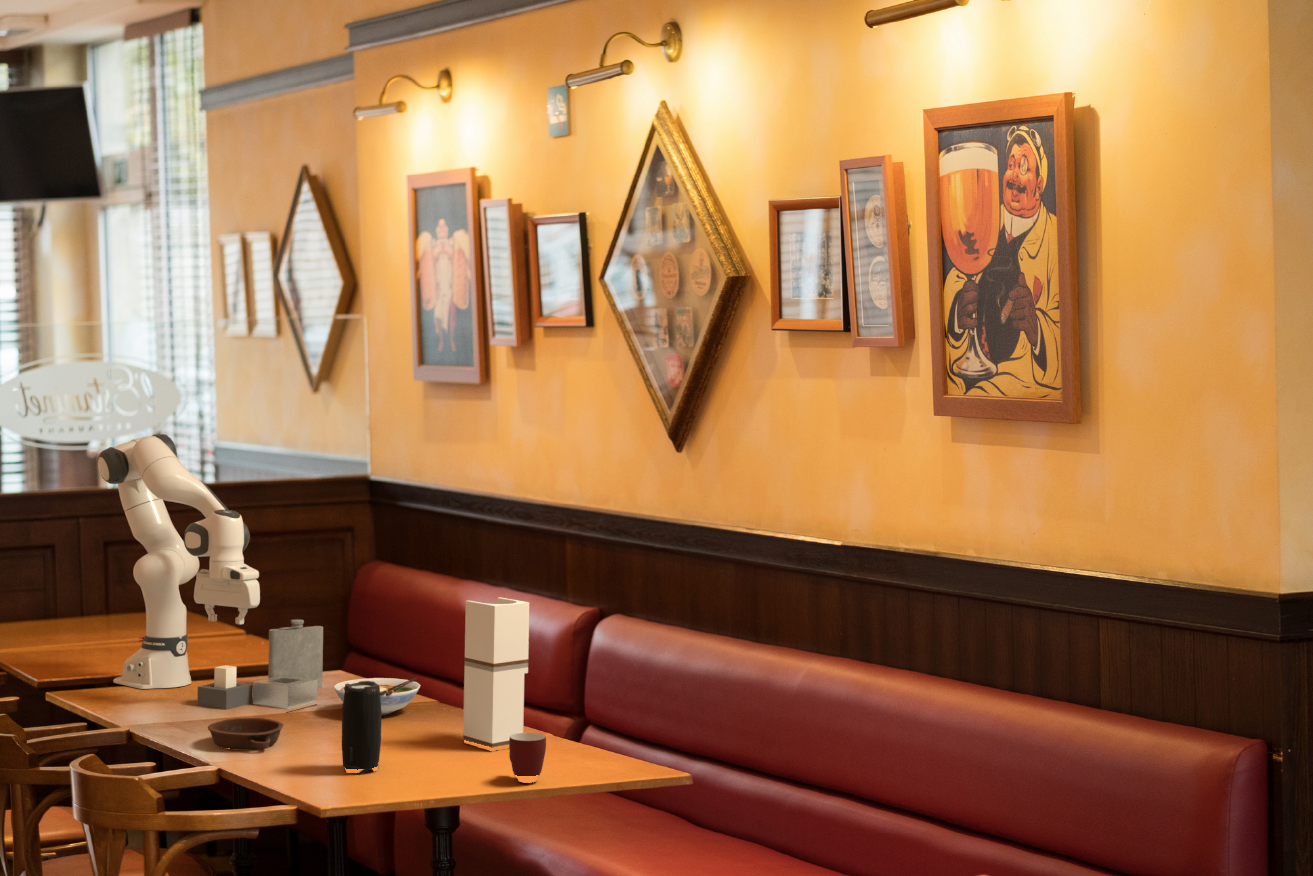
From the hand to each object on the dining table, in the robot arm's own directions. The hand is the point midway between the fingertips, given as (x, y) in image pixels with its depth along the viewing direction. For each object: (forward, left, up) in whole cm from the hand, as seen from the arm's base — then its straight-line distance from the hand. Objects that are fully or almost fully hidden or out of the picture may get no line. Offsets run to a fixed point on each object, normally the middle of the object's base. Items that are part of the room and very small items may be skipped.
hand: (226, 622), depth 398 cm
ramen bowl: (+38, +16, -23) cm, 47 cm away
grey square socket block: (0, 0, -23) cm, 23 cm away
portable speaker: (+72, -35, -23) cm, 83 cm away
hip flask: (-1, +30, -23) cm, 38 cm away
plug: (0, 0, -22) cm, 22 cm away
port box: (+12, +10, -23) cm, 28 cm away
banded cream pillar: (+84, +2, -23) cm, 87 cm away
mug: (+108, -24, -23) cm, 113 cm away
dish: (+33, -29, -24) cm, 50 cm away
